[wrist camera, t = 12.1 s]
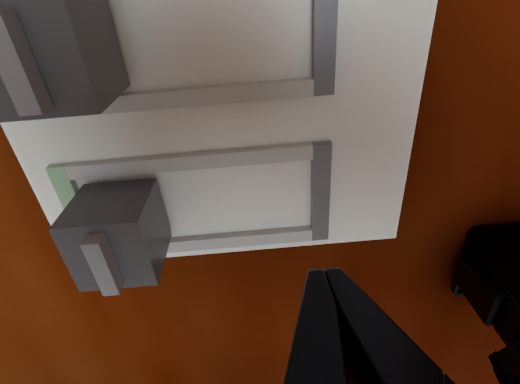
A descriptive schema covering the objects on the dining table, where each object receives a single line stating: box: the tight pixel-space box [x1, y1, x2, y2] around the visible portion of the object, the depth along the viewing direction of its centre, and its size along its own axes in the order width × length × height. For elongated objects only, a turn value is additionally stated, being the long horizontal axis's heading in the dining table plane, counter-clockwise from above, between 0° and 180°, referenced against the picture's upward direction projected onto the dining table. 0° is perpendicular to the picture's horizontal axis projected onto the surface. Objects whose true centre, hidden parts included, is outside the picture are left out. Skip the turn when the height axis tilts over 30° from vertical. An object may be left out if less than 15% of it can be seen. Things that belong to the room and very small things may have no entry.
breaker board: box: [0, 0, 438, 257], centre depth 16 cm, size 21×26×2 cm
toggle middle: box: [0, 0, 130, 123], centre depth 13 cm, size 4×4×5 cm
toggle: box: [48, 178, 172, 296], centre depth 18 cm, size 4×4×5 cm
